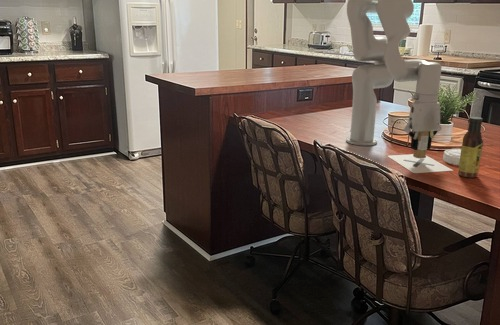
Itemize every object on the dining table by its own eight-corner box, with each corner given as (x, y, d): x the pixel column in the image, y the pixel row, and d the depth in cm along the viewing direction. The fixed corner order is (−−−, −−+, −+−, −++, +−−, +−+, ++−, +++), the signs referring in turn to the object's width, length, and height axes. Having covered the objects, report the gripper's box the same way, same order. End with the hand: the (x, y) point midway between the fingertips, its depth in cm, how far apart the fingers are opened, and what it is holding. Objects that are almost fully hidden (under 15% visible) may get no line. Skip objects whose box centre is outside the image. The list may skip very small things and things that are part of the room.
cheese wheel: (482, 161, 180) (484, 152, 179) (471, 169, 172) (472, 159, 171) (450, 154, 188) (451, 145, 187) (437, 161, 180) (438, 152, 178)
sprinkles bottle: (410, 155, 178) (414, 119, 174) (422, 155, 179) (427, 119, 175) (416, 159, 174) (420, 122, 170) (428, 158, 174) (433, 122, 170)
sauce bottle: (478, 179, 161) (487, 120, 155) (457, 177, 163) (466, 119, 157) (477, 173, 167) (486, 116, 160) (457, 171, 169) (465, 115, 163)
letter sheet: (386, 155, 185) (386, 155, 185) (422, 153, 188) (422, 153, 188) (413, 173, 166) (413, 173, 166) (453, 170, 169) (453, 170, 169)
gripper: (409, 101, 165) (403, 153, 170) (454, 99, 168) (447, 150, 174) (398, 97, 172) (393, 147, 177) (442, 95, 175) (435, 144, 181)
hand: (420, 148), depth 175 cm, fingers closed on sprinkles bottle, 4 cm apart
